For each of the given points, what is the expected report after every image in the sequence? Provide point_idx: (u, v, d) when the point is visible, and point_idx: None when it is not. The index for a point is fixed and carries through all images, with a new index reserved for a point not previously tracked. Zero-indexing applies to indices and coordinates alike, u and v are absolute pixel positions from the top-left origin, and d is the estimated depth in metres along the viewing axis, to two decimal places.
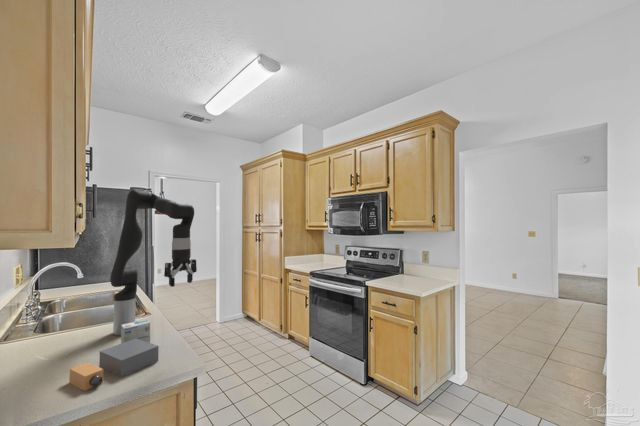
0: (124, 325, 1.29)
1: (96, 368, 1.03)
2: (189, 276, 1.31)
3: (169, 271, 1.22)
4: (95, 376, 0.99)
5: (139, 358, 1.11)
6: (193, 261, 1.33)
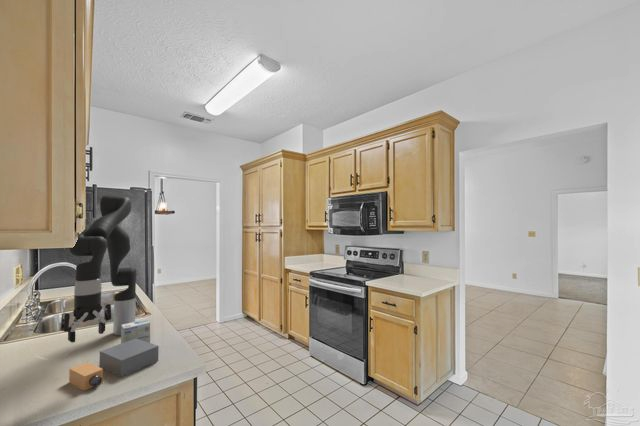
0: (124, 325, 1.29)
1: (96, 368, 1.03)
2: (100, 326, 1.06)
3: (66, 324, 0.97)
4: (95, 376, 0.99)
5: (139, 358, 1.11)
6: (106, 306, 1.07)
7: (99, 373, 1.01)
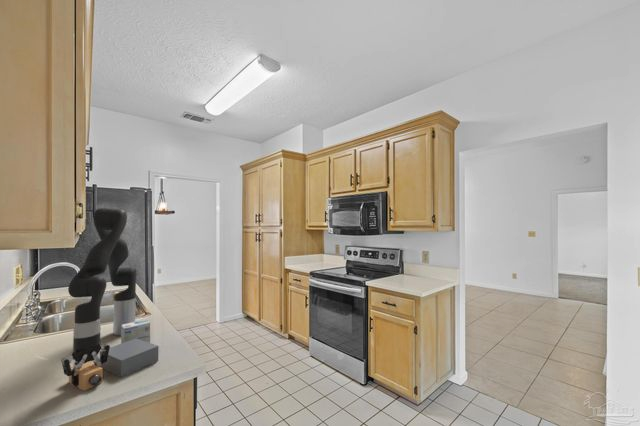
0: (124, 325, 1.29)
1: (95, 367, 1.03)
2: None
3: (68, 369, 0.97)
4: (94, 375, 0.99)
5: (139, 358, 1.11)
6: (105, 348, 1.07)
7: (99, 372, 1.01)
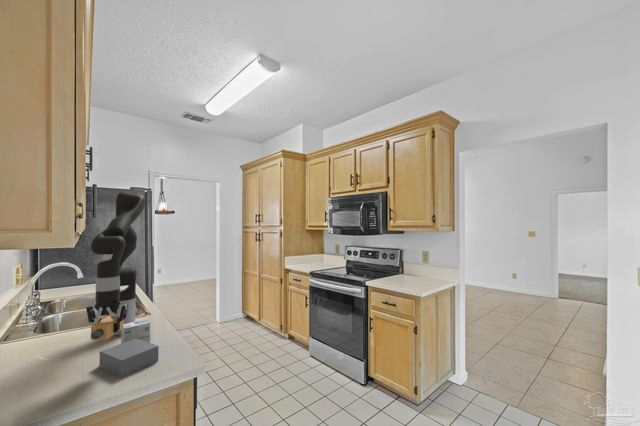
0: (124, 325, 1.29)
1: (109, 323, 1.08)
2: None
3: (89, 316, 1.08)
4: (97, 329, 1.04)
5: (139, 358, 1.11)
6: (122, 307, 1.10)
7: (104, 328, 1.05)
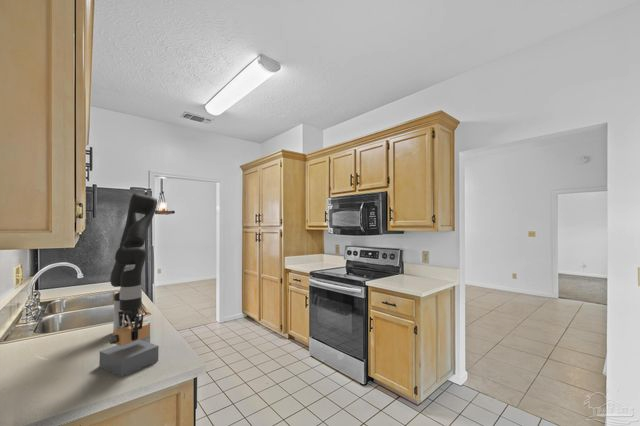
0: None
1: (127, 330, 1.13)
2: None
3: (119, 320, 1.18)
4: (114, 335, 1.11)
5: (139, 358, 1.11)
6: None
7: (119, 335, 1.11)
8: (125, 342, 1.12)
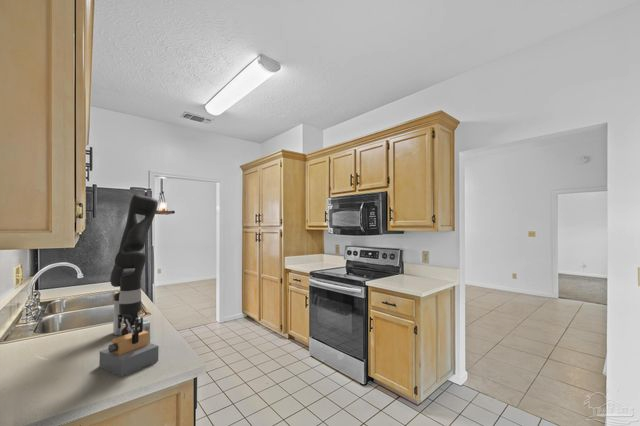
0: None
1: (126, 338, 1.13)
2: None
3: (118, 322, 1.18)
4: (113, 343, 1.11)
5: (139, 358, 1.11)
6: None
7: (118, 344, 1.11)
8: (124, 351, 1.12)
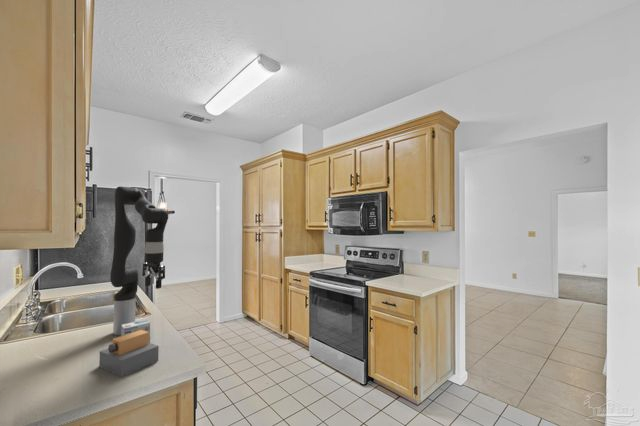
0: (124, 325, 1.29)
1: (126, 338, 1.13)
2: None
3: (143, 270, 1.34)
4: (113, 343, 1.11)
5: (139, 358, 1.11)
6: None
7: (118, 344, 1.11)
8: (124, 351, 1.12)
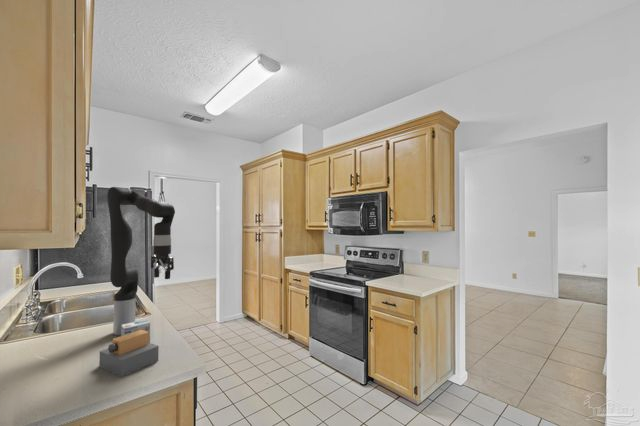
0: (124, 325, 1.29)
1: (126, 338, 1.13)
2: None
3: (151, 263, 1.40)
4: (113, 343, 1.11)
5: (139, 358, 1.11)
6: None
7: (118, 344, 1.11)
8: (124, 351, 1.12)
